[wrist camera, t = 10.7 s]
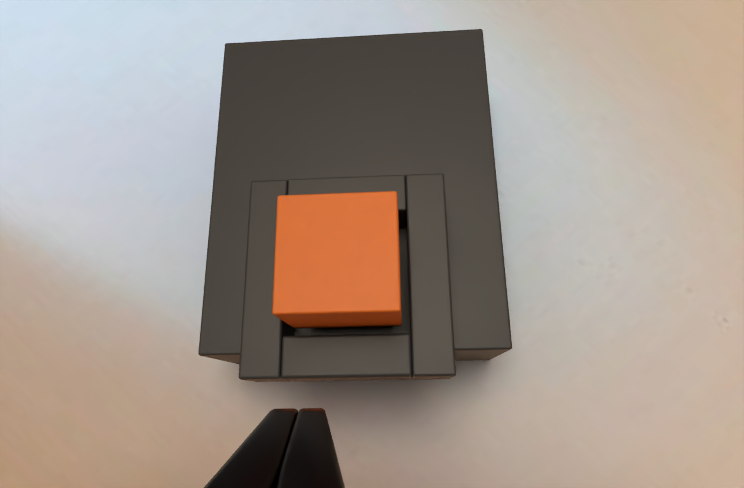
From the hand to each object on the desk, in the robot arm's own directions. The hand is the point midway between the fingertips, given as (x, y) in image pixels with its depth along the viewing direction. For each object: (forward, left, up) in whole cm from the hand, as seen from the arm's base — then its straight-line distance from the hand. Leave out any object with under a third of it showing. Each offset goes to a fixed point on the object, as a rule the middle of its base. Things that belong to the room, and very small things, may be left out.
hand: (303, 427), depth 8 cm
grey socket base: (+6, +5, -12) cm, 14 cm away
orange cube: (+3, +3, -6) cm, 8 cm away
